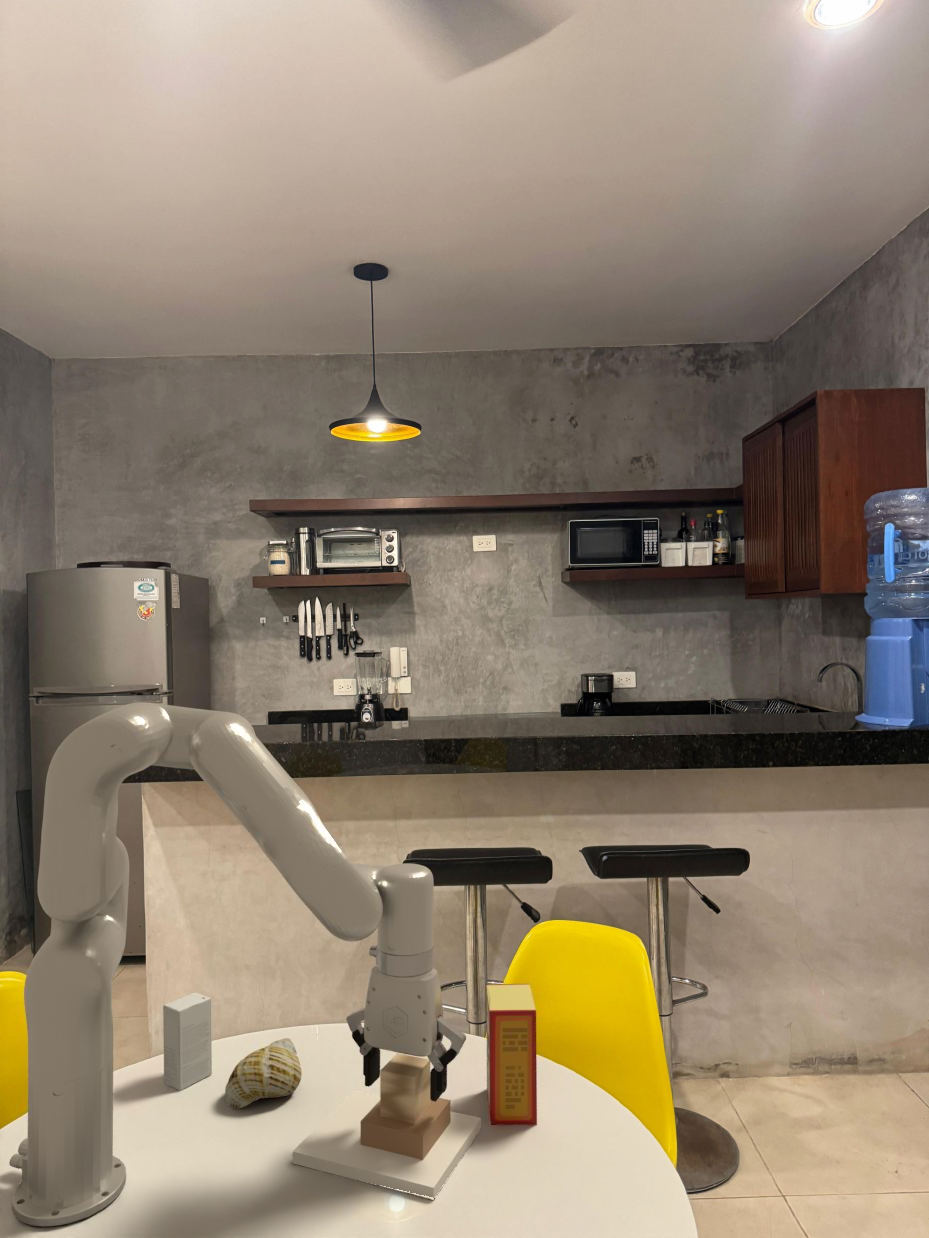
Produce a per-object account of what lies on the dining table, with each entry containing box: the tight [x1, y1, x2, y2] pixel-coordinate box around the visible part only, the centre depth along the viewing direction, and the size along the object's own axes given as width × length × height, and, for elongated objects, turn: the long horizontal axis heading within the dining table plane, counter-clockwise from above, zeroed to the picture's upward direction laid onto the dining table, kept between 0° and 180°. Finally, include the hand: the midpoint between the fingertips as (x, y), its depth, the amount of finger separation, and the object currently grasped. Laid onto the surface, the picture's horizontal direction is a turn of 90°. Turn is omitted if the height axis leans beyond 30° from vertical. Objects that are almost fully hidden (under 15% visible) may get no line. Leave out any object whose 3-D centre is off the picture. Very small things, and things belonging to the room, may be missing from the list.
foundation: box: [291, 1089, 482, 1198], centre depth 112 cm, size 20×16×4 cm
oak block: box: [379, 1052, 431, 1124], centre depth 113 cm, size 5×5×6 cm
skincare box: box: [162, 991, 213, 1092], centre depth 130 cm, size 6×4×12 cm
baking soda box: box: [485, 983, 538, 1126], centre depth 122 cm, size 10×6×16 cm
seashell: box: [224, 1037, 302, 1110], centre depth 125 cm, size 10×10×10 cm
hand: (404, 1088), depth 113 cm, fingers open, 9 cm apart
